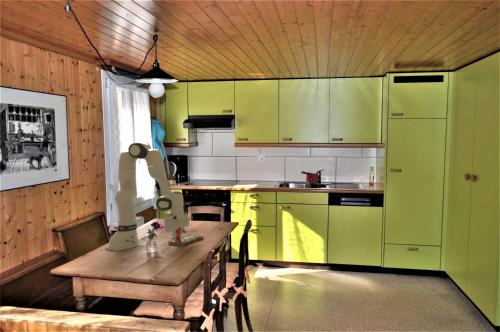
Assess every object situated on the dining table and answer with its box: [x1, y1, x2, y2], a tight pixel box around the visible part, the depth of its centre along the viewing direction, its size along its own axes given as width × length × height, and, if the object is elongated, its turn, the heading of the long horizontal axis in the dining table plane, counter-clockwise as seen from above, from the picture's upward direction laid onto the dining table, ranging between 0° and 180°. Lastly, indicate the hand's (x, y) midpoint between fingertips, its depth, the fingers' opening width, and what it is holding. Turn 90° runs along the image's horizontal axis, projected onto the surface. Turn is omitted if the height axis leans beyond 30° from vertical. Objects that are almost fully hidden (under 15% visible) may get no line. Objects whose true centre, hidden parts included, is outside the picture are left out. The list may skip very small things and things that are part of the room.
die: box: [170, 231, 182, 239], centre depth 284 cm, size 5×5×5 cm
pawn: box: [174, 227, 181, 242], centre depth 265 cm, size 4×4×11 cm
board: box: [167, 233, 204, 247], centre depth 273 cm, size 23×12×2 cm, turn 148°
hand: (177, 235), depth 265 cm, fingers closed on pawn, 3 cm apart
